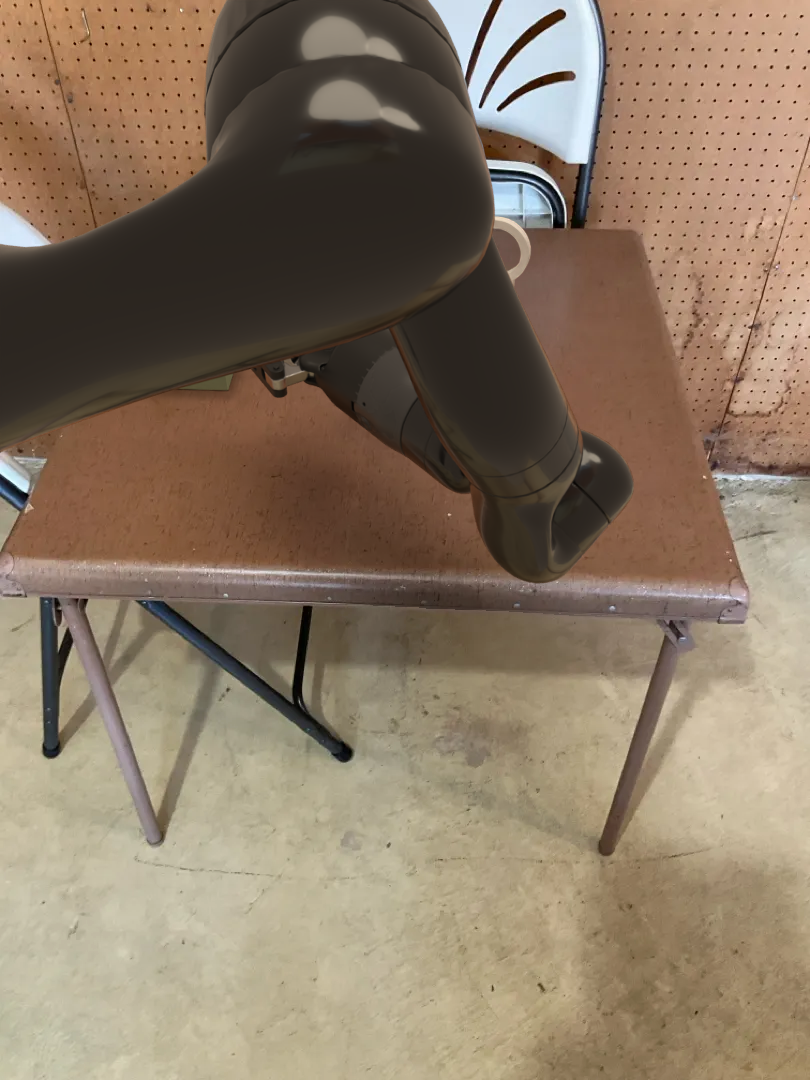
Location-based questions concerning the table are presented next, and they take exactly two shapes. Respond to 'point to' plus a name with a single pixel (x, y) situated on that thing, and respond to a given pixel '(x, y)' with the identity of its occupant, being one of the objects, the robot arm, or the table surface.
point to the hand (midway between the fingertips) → (275, 303)
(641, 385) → the table surface
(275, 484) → the table surface
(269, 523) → the table surface
